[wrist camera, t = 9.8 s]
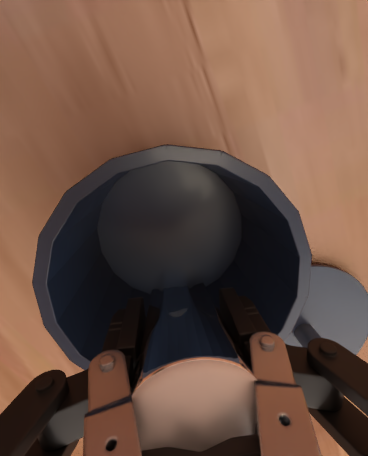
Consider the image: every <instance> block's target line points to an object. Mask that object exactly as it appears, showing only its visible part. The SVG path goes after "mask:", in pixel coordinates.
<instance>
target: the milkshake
mask: <svg viewBox="0 0 368 456" xmlns="http://www.w3.org/2000/svg"><path fill="white" fill-rule="evenodd" d="M254 380H257V379H256V378H255V376H254V374H253V372H252V368H251V365H250V364H249V362H248V360H247V358H246V357H245V355H244V353H243V352H242V350H241V348H240V346H239V345H238V343H237V341H236V339H235V338H234V336H233V334H232V333H231V332H230V330H229V328H228V326H227V324H226V323H225V321H224V319H223V317H222V315H221V313H220V311H219V309H218V307H217V305H216V303H215V301H214V299H213V297H212V295H211V293H210V291H209V289H208V287H207V285H206V284H205V282H204V281H203V279H202V277H201V276H200V274H199V273H198V271H197V270H195V269H192V268H189V267H187V266H184V265H178V266H174V267H170V268H165V269H164V270H163V271H162V273H161V274H160V275H159V276H158V277H157V278H156V279H155V280H154V282H153V287H152V292H151V297H150V302H149V307H148V312H147V318H146V323H145V328H144V332H143V337H142V341H141V345H140V349H139V353H138V357H137V361H136V365H135V370H134V374H133V378H132V382H131V386H130V389H131V395H132V401H133V406H134V412H135V418H136V423H137V429H138V435H139V440H140V447H141V451H142V450H149V449H156V448H163V447H173V448H179V449H185V450H191V451H198V452H201V451H204V450H206V449H209V448H211V447H213V446H215V445H217V444H219V443H221V442H223V441H225V440H227V439H230V438H232V437H239V436H246V435H253V434H255V396H254Z"/></svg>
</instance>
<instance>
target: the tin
mask: <svg viewBox="0 0 368 456" xmlns="http://www.w3.org/2000/svg"><path fill="white" fill-rule="evenodd" d="M311 261H312V255H311V250H310V247H309V244H308V240H307V237H306V234H305V231H304V227H303V224H302V221H301V218H300V214H299V211H298V210H297V209H296V208H295V207H294V205H293V204H292V203H291V202H290V201H289V199H288V198H287V197H286V196H285V194H284V193H283V192H282V191H281V190H280V188H279V187H278V186H277V185H276V184H275V182H274V181H273V180H272V179H271V178H270V176H268V175H267V174H265V173H263V172H261V171H259V170H258V169H256V168H254V167H252V166H250V165H248V164H246V163H244V162H243V161H241V160H239V159H237V158H235V157H233V156H231V155H229V154H227V153H226V152H224V151H221V150H212V149H203V148H195V147H186V146H177V145H168V144H167V145H162V146H158V147H154V148H150V149H146V150H142V151H139V152H135V153H131V154H127V155H123V156H119V157H116V158H112V159H110V160H108V161H107V162H105V163H104V164H103V165H101V166H100V167H99V168H97V169H96V170H95V171H93V172H92V173H90V174H89V175H88V176H86V177H85V178H84V179H82V180H81V181H79V182H78V183H77V184H75V185H74V186H73V187H71V188H70V189H69V190H67V191H66V192H65V193H64V195H63V197H62V198H61V200H60V202H59V203H58V205H57V207H56V208H55V210H54V211H53V213H52V215H51V216H50V218H49V220H48V221H47V223H46V225H45V226H44V228H43V230H42V231H41V233H40V234H39V237H38V244H37V252H36V259H35V266H34V273H33V281H32V283H33V284H32V285H33V288H34V292H35V295H36V299H37V303H38V306H39V310H40V313H41V317H42V320H43V324H44V326H45V328H46V330H47V331H48V332H49V334H50V335H51V336H52V337H53V339H54V340H55V341H56V343H57V344H58V345H59V347H60V348H61V349H62V351H63V352H64V353H65V354H66V356H67V357H68V358H69V360H71V362H73V363H74V364H76V365H77V366H79V367H81V368H82V369H84V370H86V369H88V368H89V364H90V362H91V361H92V360H93V358H94V357H95V356H97V355H98V354H100V353H101V351H102V348H103V345H104V342H105V338H106V335H107V332H108V329H109V326H110V322H111V319H112V316H113V315H114V314H115V313H116V312H117V311H118V309H126V306H127V302H128V299H129V298H137V297H143V300H144V307H145V314H146V318H147V312H148V307H149V302H150V297H151V292H152V287H153V282H154V280H155V279H156V278H157V277H158V276H159V275H160V274H161V273H162V271H163V270H164V269H165V268H170V267H174V266H178V265H184V266H187V267H189V268H192V269H195V270H197V271H198V273H199V274H200V276H201V277H202V279H203V281H204V282H205V284H206V285H207V287H208V289H209V291H210V293H211V295H212V297H213V299H214V301H215V303H216V305H217V307H218V309H219V311H220V306H219V289H221V288H230V287H233V288H234V289H235V291H236V293H237V295H238V296H246V297H247V298H249V299H250V300H252V302H253V304H254V305H255V307H256V308H257V310H258V312H259V314H260V315H261V317H262V318H263V320H264V322H265V323H266V325H267V327H268V328H269V330H270V332H271V333H274V334H276V335H278V336H279V337H281V338H282V339H283V341H285V340H286V339H287V338H288V337H289V336H290V335H291V333H292V330H293V328H294V326H295V324H296V322H297V320H298V318H299V315H300V313H301V311H302V309H303V307H304V305H305V302H306V300H307V298H308V296H309V284H310V273H311Z"/></svg>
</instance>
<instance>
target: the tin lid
mask: <svg viewBox="0 0 368 456" xmlns="http://www.w3.org/2000/svg"><path fill="white" fill-rule="evenodd" d="M367 336H368V293H367V292H366V290H365V289H364V287H363V286H362V285H361V283H360V282H359V281H358V280H357V279H355V278H354V277H353V276H352V275H350V274H348V273H347V272H345V271H343V270H341V269H338V268H336V267H332V266H328V265H321V264H311V273H310V284H309V296H308V298H307V300H306V302H305V305H304V307H303V309H302V311H301V313H300V315H299V318H298V320H297V322H296V324H295V326H294V328H293V330H292V333H291V335H290V336H289V337H288V338H287V339H286V340H285V341H284V342H285V344H288V345H291V346H298V347H306V348H307V347H308V343H309V341H310V340H312V339H315V338H326V339H330V340H333V341H335V342H337V343H339V344H340V345H342V346H343V347H345V348H346V349H347V350H349V351H350V352H352V353H353V354H355V355H357V353H358V352H359V351H360V349H361V348H362V346H363V344H364V343H365V341H366V339H367Z"/></svg>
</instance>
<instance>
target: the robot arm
mask: <svg viewBox="0 0 368 456" xmlns="http://www.w3.org/2000/svg"><path fill="white" fill-rule="evenodd" d="M219 306H220V313H221V315H222V317H223V319H224V321H225V323H226V324H227V326H228V328H229V330H230V332H231V333H232V334H233V336H234V338H235V339H236V341H237V343H238V345H239V346H240V348H241V350H242V352H243V353H244V355H245V357H246V358H247V360H248V362H249V364H250V365H251V368H252V372H253V374H254V376H255V378H256V379H257V380H254V396H255V434H253V435H246V436H239V437H232V438H230V439H227V440H225V441H223V442H221V443H219V444H217V445H215V446H213V447H211V448H209V449H206V450H204V451H201V452H198V451H191V450H185V449H179V448H173V447H163V448H156V449H149V450H142V451H141V447H140V440H139V435H138V429H137V423H136V418H135V412H134V406H133V401H132V395H131V389H130V386H131V382H132V378H133V374H134V370H135V365H136V361H137V357H138V353H139V349H140V345H141V341H142V337H143V332H144V328H145V323H146V314H145V307H144V300H143V297H137V298H129V299H128V302H127V306H126V309H118V311H117V312H116V313H115V314H114V315H113V316H112V319H111V322H110V326H109V329H108V332H107V335H106V338H105V342H104V345H103V348H102V351H101V353H100V354H98V355H97V356H95V357H94V358H93V360H92V361H91V362H90V364H89V368H88V369H86V370H85V371H82V372H80V373H77V374H75V375H72V376H70V377H67V378H66V375H65V373H64V372H63V371H61V370H51V371H47V372H45V373H42V374H41V375H39V376H37V377H36V378H35V379H33V380H32V381H31V382H30V383H29V384H28V385H27V386H26V387H25V388H24V390H23V391H22V392H21V393H20V394H19V395H18V396H17V397H16V398H15V399H14V400H13V401H12V402H11V404H10V405H9V406H8V407H7V408H6V409H5V410H4V411H3V412H2V413H1V414H0V456H71V454H72V452H73V450H74V449H75V447H76V445H77V443H78V441H79V439H80V438H82V437H83V456H322V455H321V452H320V448H319V445H318V441H317V438H316V435H315V431H314V428H313V424H312V421H311V417H310V414H311V415H312V416H313V417H314V418H315V419H316V420H317V421H318V422H319V423H320V425H321V426H322V427H323V428H324V429H325V430H326V431H327V432H328V433H329V434H330V435H331V436H332V437H333V439H334V440H335V441H336V442H337V443H338V444H339V445H340V446H341V447H342V448H343V449H344V450H345V451H346V453H347V454H348V455H349V456H368V418H367V417H366V416H365V415H364V414H363V413H362V412H361V411H359V410H358V409H357V408H356V407H355V406H354V405H353V404H352V403H350V402H349V401H348V400H347V399H346V398H345V397H344V396H346V397H347V398H348V399H349V400H350V401H351V402H353V403H354V404H355V405H356V406H357V407H358V408H359V409H361V410H362V411H363V412H364V413H365V414H366V415H367V416H368V363H366V362H365V361H363V360H362V359H360V358H359V357H358V356H356V355H355V354H353V353H352V352H350V351H349V350H347V349H346V348H345V347H343V346H342V345H340V344H339V343H337V342H335V341H333V340H330V339H326V338H315V339H312V340H310V341H309V343H308V347H307V348H306V347H298V346H291V345H288V344H285V342H284V341H283V339H282V338H281V337H279V336H278V335H276V334H274V333H271V332H270V330H269V328H268V327H267V325H266V323H265V322H264V320H263V318H262V317H261V315H260V314H259V312H258V310H257V308H256V307H255V305H254V304H253V302H252V300H250V299H249V298H247V297H246V296H238V295H237V293H236V291H235V289H234V288H233V287H230V288H221V289H219ZM309 413H310V414H309Z"/></svg>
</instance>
